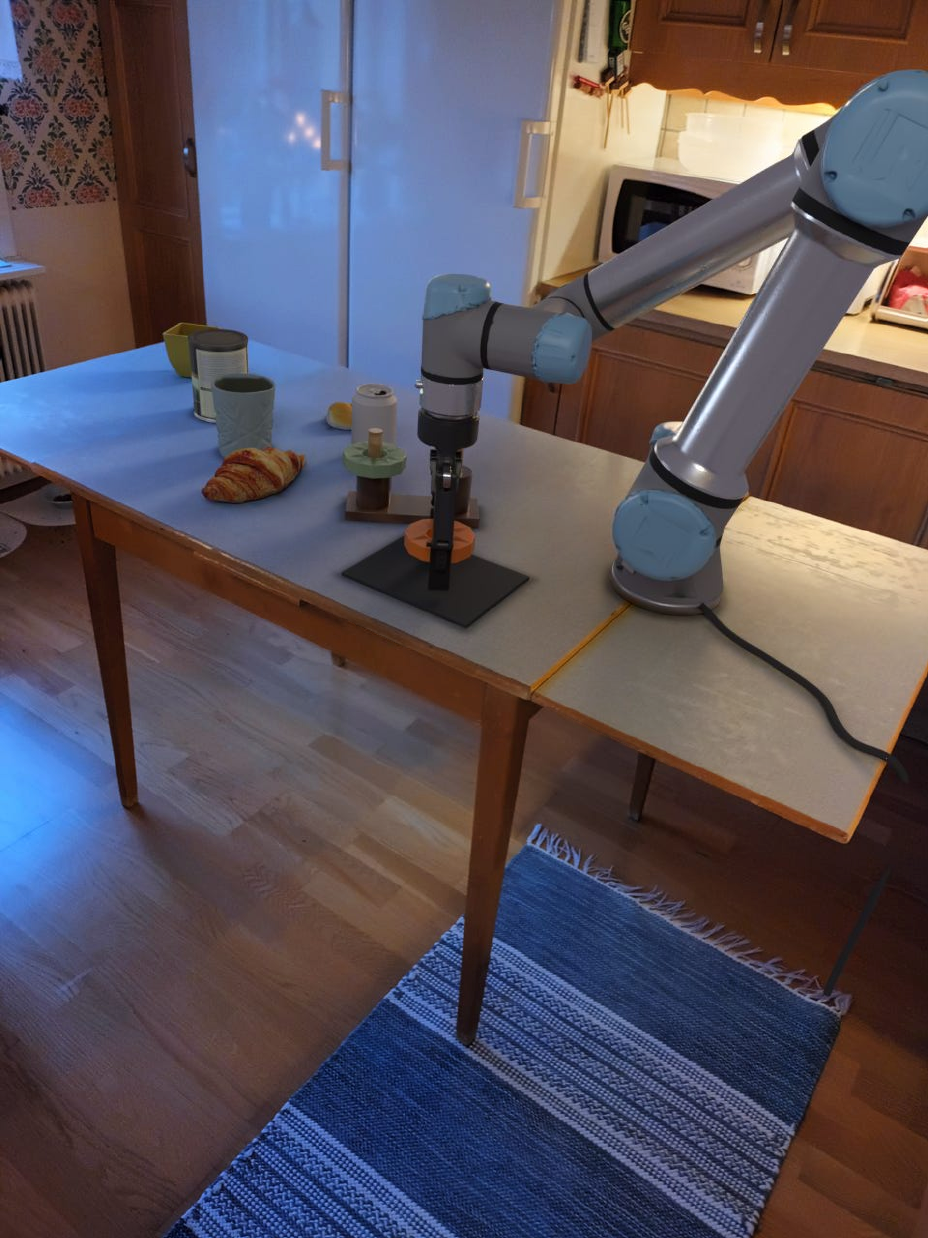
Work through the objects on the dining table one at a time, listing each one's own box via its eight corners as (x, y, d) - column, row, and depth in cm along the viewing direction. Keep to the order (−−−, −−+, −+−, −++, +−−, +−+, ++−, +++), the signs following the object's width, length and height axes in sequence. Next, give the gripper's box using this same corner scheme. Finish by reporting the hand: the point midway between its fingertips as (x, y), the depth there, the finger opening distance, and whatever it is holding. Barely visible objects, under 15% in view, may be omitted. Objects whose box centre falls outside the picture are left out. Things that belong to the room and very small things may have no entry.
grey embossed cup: (203, 455, 153) (198, 384, 146) (236, 436, 161) (233, 368, 155) (257, 468, 150) (254, 397, 144) (288, 448, 158) (286, 379, 152)
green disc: (417, 468, 137) (418, 455, 136) (372, 483, 131) (372, 470, 130) (376, 449, 142) (376, 436, 141) (331, 462, 136) (331, 450, 135)
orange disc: (486, 549, 123) (488, 536, 122) (439, 570, 117) (440, 556, 116) (438, 525, 128) (439, 512, 127) (391, 544, 122) (391, 531, 121)
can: (388, 468, 155) (390, 398, 148) (345, 461, 156) (346, 392, 149) (399, 451, 161) (402, 384, 155) (358, 445, 162) (359, 378, 155)
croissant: (291, 482, 155) (274, 436, 153) (332, 471, 148) (315, 423, 146) (194, 522, 139) (174, 471, 137) (236, 511, 133) (215, 458, 131)
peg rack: (476, 507, 145) (484, 428, 138) (478, 527, 139) (486, 446, 132) (348, 499, 143) (349, 419, 136) (344, 520, 137) (346, 437, 130)
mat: (528, 579, 127) (529, 576, 126) (465, 628, 115) (466, 625, 115) (411, 534, 135) (411, 531, 135) (341, 575, 124) (341, 572, 123)
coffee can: (181, 412, 168) (174, 335, 161) (225, 399, 175) (220, 325, 168) (220, 428, 163) (215, 348, 156) (263, 414, 171) (260, 338, 163)
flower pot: (165, 378, 183) (161, 332, 178) (184, 365, 190) (180, 321, 185) (207, 384, 182) (204, 338, 177) (224, 371, 189) (222, 327, 184)
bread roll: (380, 430, 169) (381, 409, 167) (332, 432, 166) (332, 411, 164) (368, 413, 175) (369, 393, 173) (322, 416, 172) (322, 395, 170)
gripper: (419, 378, 121) (411, 530, 133) (417, 441, 103) (408, 611, 115) (475, 382, 122) (463, 533, 134) (484, 445, 103) (468, 614, 115)
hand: (437, 569), depth 124 cm, fingers closed on orange disc, 9 cm apart
